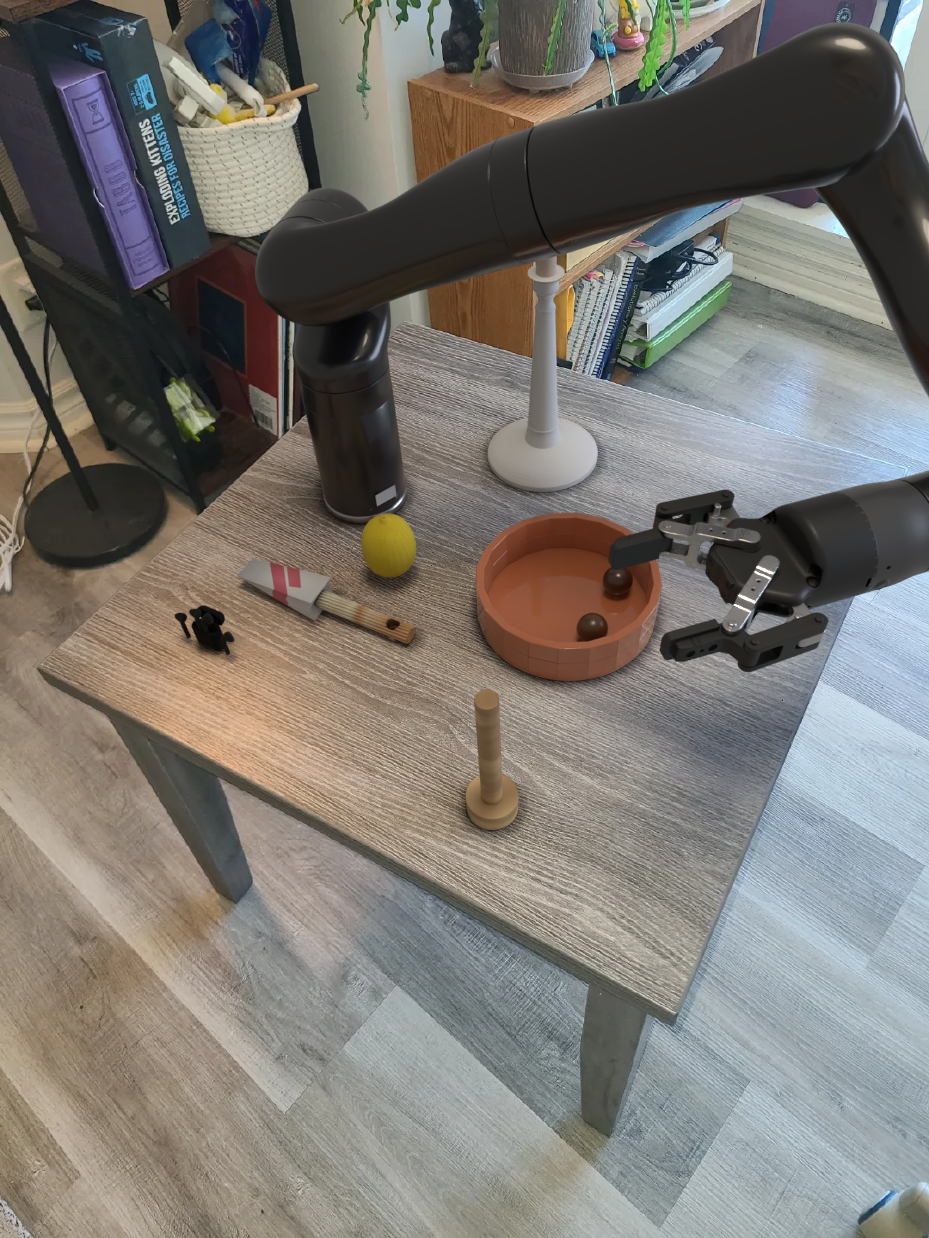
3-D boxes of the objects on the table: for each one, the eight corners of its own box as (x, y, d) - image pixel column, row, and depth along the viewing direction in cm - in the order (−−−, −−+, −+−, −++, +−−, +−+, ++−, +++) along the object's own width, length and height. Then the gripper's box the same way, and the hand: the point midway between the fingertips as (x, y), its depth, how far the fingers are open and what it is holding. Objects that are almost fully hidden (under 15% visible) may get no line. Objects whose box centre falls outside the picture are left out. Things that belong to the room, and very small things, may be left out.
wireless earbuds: (181, 639, 90) (165, 606, 86) (196, 622, 91) (182, 589, 87) (237, 663, 87) (224, 630, 83) (252, 645, 89) (240, 612, 85)
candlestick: (619, 448, 105) (645, 190, 82) (553, 507, 99) (561, 248, 76) (532, 407, 111) (535, 156, 88) (465, 462, 105) (448, 207, 82)
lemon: (426, 560, 95) (420, 504, 89) (407, 597, 92) (399, 542, 86) (378, 549, 96) (369, 494, 90) (358, 586, 93) (347, 531, 87)
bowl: (443, 598, 91) (440, 564, 88) (576, 523, 97) (578, 488, 94) (553, 712, 82) (554, 680, 78) (692, 621, 88) (700, 587, 84)
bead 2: (634, 578, 91) (626, 604, 90) (605, 570, 91) (597, 595, 90) (638, 565, 88) (630, 591, 87) (608, 556, 88) (600, 582, 87)
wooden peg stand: (456, 801, 77) (443, 694, 64) (497, 774, 78) (492, 664, 66) (487, 840, 74) (479, 736, 62) (529, 811, 76) (530, 703, 63)
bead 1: (593, 655, 85) (618, 636, 85) (584, 635, 83) (609, 616, 83) (575, 640, 87) (599, 621, 88) (566, 620, 85) (590, 601, 86)
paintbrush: (253, 544, 93) (419, 613, 87) (257, 562, 95) (421, 631, 89) (230, 569, 91) (399, 641, 85) (235, 586, 93) (401, 658, 87)
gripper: (806, 440, 65) (598, 492, 62) (928, 577, 56) (692, 645, 53) (782, 515, 71) (591, 566, 68) (889, 650, 62) (674, 715, 59)
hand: (635, 601), depth 61 cm, fingers open, 8 cm apart
